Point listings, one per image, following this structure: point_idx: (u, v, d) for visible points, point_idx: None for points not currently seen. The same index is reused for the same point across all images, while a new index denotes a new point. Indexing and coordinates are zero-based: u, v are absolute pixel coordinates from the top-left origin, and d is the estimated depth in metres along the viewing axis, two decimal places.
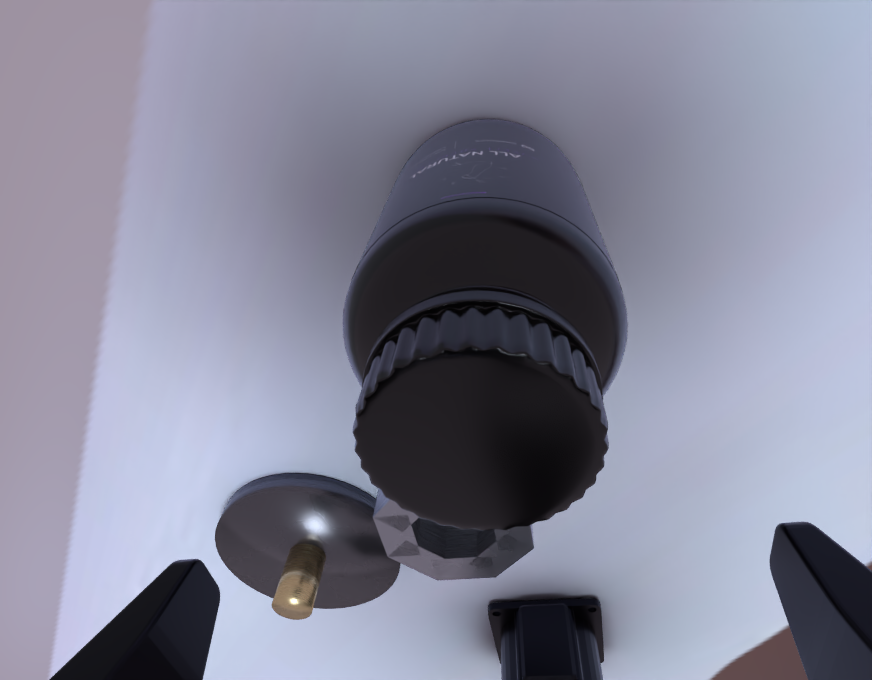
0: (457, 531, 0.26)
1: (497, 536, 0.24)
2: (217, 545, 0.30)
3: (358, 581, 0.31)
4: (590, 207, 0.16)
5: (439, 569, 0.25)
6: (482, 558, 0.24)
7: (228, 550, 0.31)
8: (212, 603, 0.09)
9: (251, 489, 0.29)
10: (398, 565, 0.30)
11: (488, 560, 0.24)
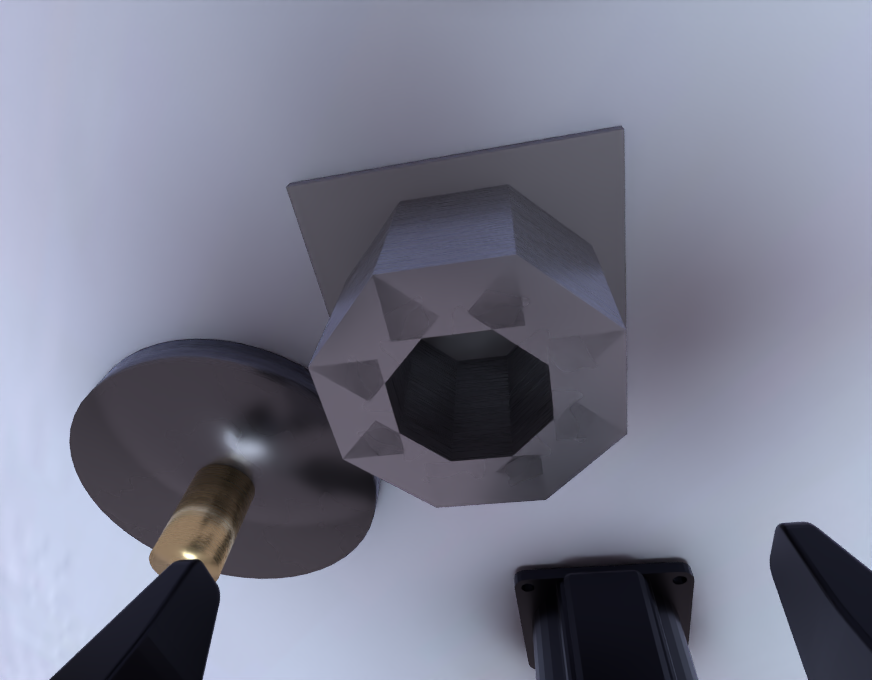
0: (473, 418, 0.14)
1: (556, 407, 0.12)
2: (77, 470, 0.19)
3: (310, 532, 0.20)
4: None
5: (439, 485, 0.13)
6: (523, 459, 0.13)
7: (97, 479, 0.19)
8: (212, 603, 0.09)
9: (121, 366, 0.17)
10: (372, 503, 0.18)
11: (534, 463, 0.13)
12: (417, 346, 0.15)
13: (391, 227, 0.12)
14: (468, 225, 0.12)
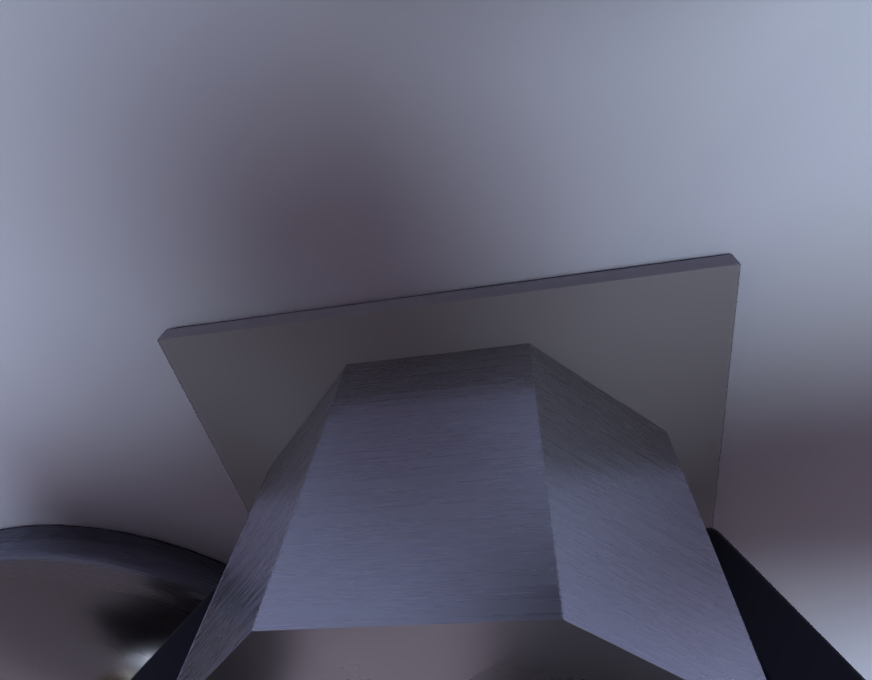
0: None
1: None
2: None
3: None
4: None
5: None
6: None
7: None
8: None
9: None
10: None
11: None
12: None
13: (320, 445, 0.07)
14: (458, 466, 0.06)
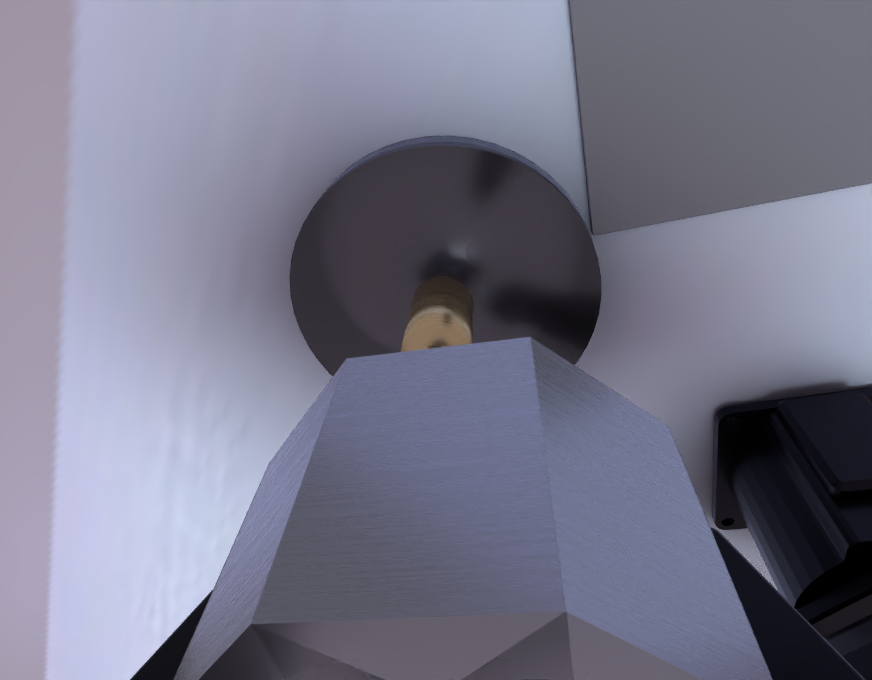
0: None
1: None
2: (293, 295, 0.18)
3: None
4: None
5: None
6: None
7: (310, 305, 0.19)
8: None
9: (353, 167, 0.17)
10: (595, 315, 0.18)
11: None
12: None
13: (320, 438, 0.07)
14: (458, 460, 0.06)
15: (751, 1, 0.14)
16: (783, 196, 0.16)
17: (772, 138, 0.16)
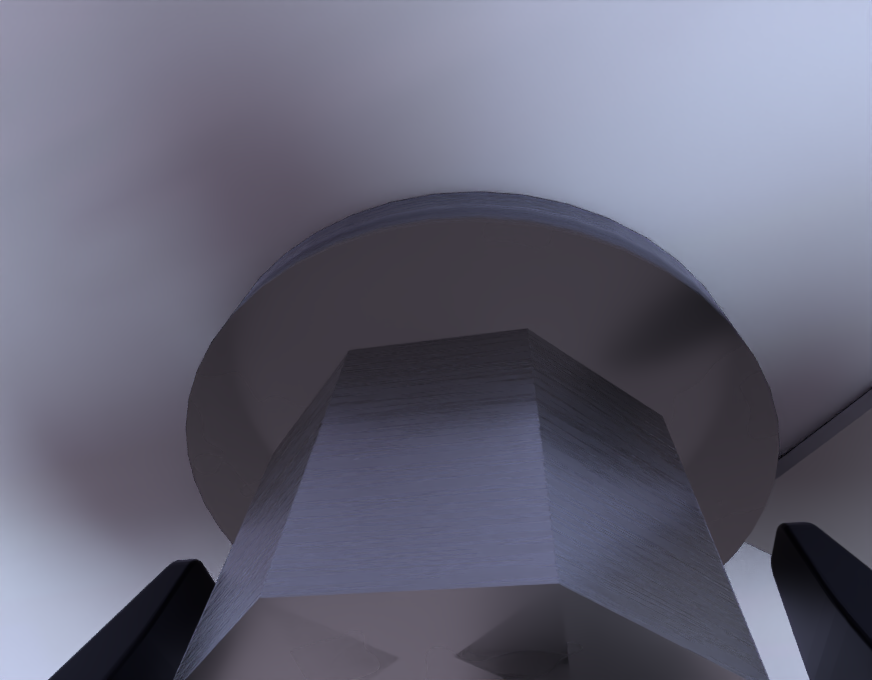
0: None
1: None
2: (238, 317, 0.08)
3: None
4: None
5: None
6: None
7: (256, 353, 0.09)
8: None
9: (547, 214, 0.08)
10: None
11: None
12: None
13: (324, 425, 0.07)
14: (457, 444, 0.06)
15: None
16: None
17: None
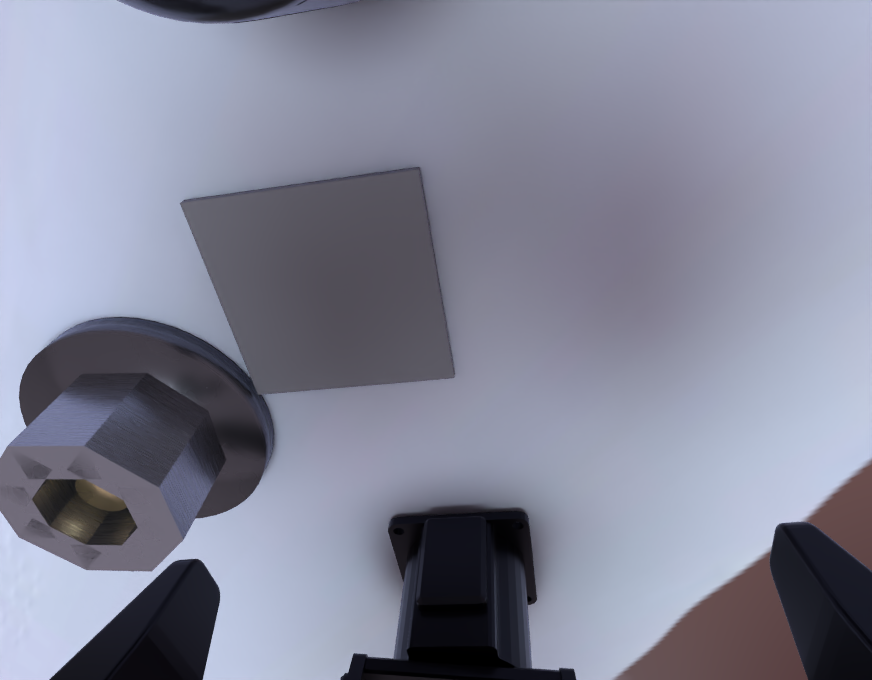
0: None
1: (116, 494, 0.19)
2: (26, 421, 0.23)
3: None
4: None
5: (135, 559, 0.21)
6: (143, 526, 0.20)
7: None
8: (212, 603, 0.09)
9: (60, 337, 0.21)
10: (262, 453, 0.23)
11: (150, 525, 0.20)
12: None
13: None
14: None
15: (326, 259, 0.19)
16: (389, 381, 0.22)
17: (368, 344, 0.21)
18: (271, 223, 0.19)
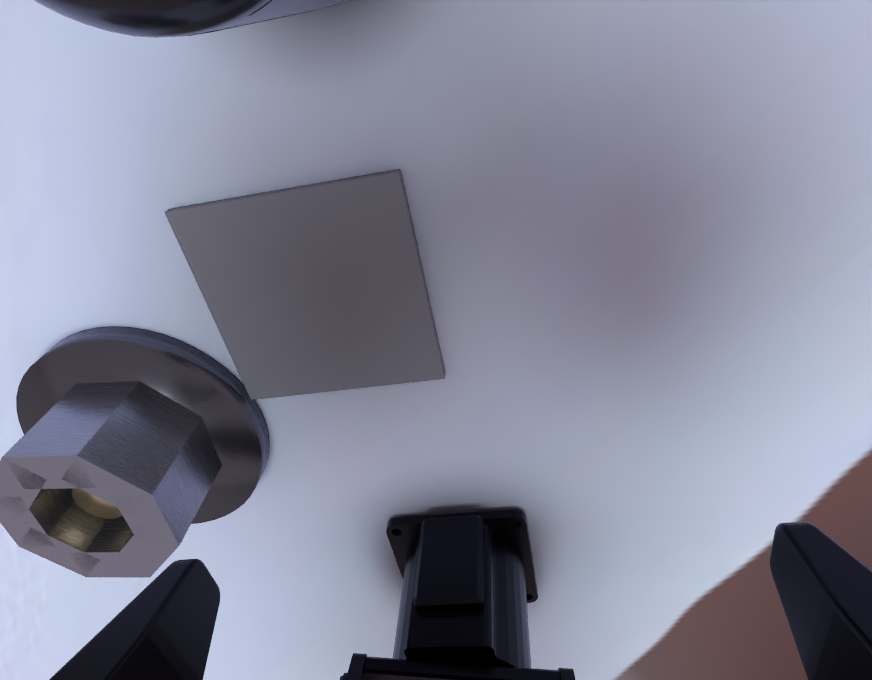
0: None
1: (111, 502, 0.19)
2: (24, 431, 0.23)
3: None
4: None
5: (133, 565, 0.21)
6: (139, 533, 0.20)
7: None
8: (212, 603, 0.09)
9: (54, 347, 0.22)
10: (257, 457, 0.23)
11: (146, 531, 0.20)
12: None
13: None
14: None
15: (312, 264, 0.19)
16: (380, 383, 0.22)
17: (357, 347, 0.21)
18: (255, 229, 0.19)
